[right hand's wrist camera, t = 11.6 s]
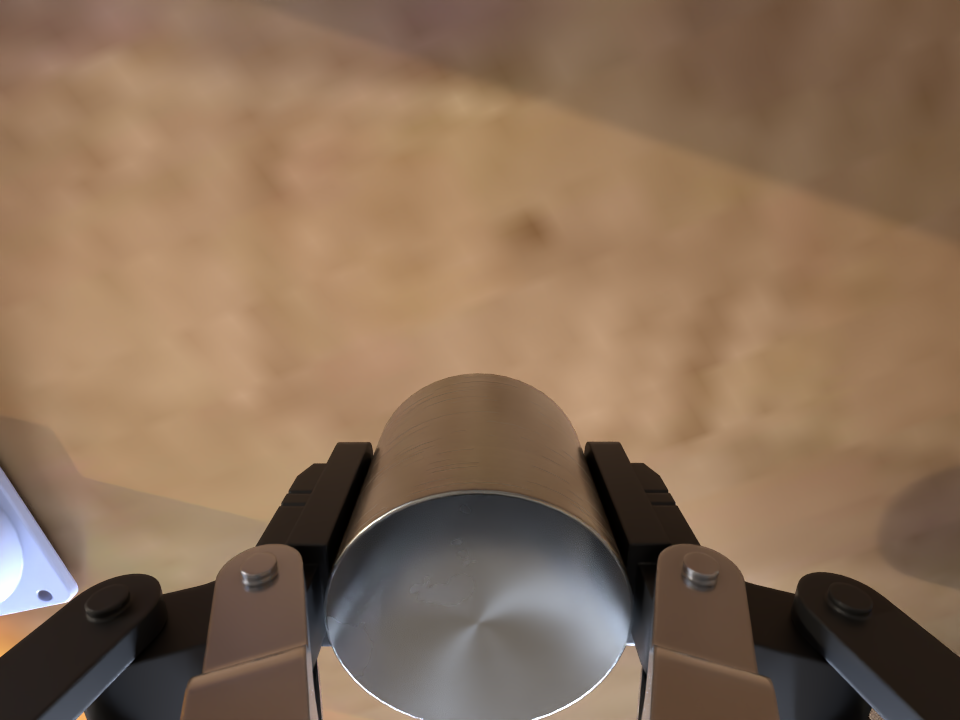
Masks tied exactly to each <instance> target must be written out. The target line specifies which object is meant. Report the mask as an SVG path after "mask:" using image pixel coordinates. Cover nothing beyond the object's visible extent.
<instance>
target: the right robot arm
mask: <svg viewBox="0 0 960 720" xmlns="http://www.w3.org/2000/svg"><path fill="white" fill-rule="evenodd" d="M584 456H585V459H586V461H587V464H588V467H589V470H590V472H591V475H592V478H593V481H594V483H595V486H596V489H597V492H598V494H599V497H600V500H601V503H602V505H603V508H604V511H605V514H606V516H607V519H608V522H609V525H610V527H611V530H612V533H613V536H614V538H615V541H616V544H617V547H618V549H619V552H620V555H621V557H622V560H623V563H624V566H625V568H626V571H627V574H628V577H629V580H630V584H631V587H632V594H633V601H634V605H633V621H632V626H631V631H630V636H629V638H628V641H627V644H626V645H635V646H636V649H637V652H638V655H639V659H640V662H641V665H642V669H641V676H640V687H639V698H638V710H637V720H871V719H870V718H869V717H868V716H869V714H870V711H871V708H873V709H874V710H875V711H876V712H877V713H878V714H879V715H880V716H881V717H882V718H883V719H884V720H960V657H959V656H957V655H956V654H955V653H954V652H952V651H951V650H950V649H949V648H947V647H946V646H945V645H944V644H942V643H941V642H940V641H939V640H937V639H936V638H935V637H934V636H932V635H931V634H930V633H928V632H927V631H926V630H925V629H923V628H922V627H921V626H920V625H918V624H917V623H916V622H915V621H913V620H912V619H911V618H910V617H908V616H907V615H906V614H905V613H903V612H902V611H901V610H900V609H898V608H897V607H896V606H895V605H893V604H892V603H891V602H890V601H888V600H887V599H886V598H885V597H883V596H882V595H881V594H879V593H878V592H877V591H875V590H873V589H872V588H870V587H868V586H867V585H865V584H863V583H861V582H859V581H856V580H854V579H851V578H849V577H845V576H842V575H838V574H834V573H827V572H816V573H810V574H807V575H805V576H803V577H802V578H801V579H800V580H799V583H798V585H797V589H796V593H795V594H793V593H789V592H785V591H780V590H776V589H772V588H767V587H763V586H759V585H755V584H751V583H748V582H745V581H744V577H743V575H742V573H741V571H740V570H739V569H738V567H737V566H736V565H735V564H734V563H733V562H732V561H731V560H729V559H728V558H727V557H725V556H724V555H722V554H720V553H718V552H716V551H714V550H712V549H709V548H707V547H703V546H701V545H700V544H699V542H698V540H697V539H696V537H695V535H694V533H693V532H692V530H691V528H690V527H689V525H688V523H687V522H686V520H685V518H684V516H683V515H682V513H681V511H680V510H679V508H678V506H676V505H675V501H674V499H673V498H672V496H671V494H670V493H668V489H667V487H666V486H665V484H664V482H663V480H662V479H661V477H660V476H659V475H658V474H657V473H656V472H654V471H653V470H652V469H650V468H649V467H648V466H646V465H645V464H644V463H630V461H629V459H628V457H627V455H626V453H625V451H624V449H623V447H622V446H621V444H620V443H619V442H587V443H586V446H585V451H584ZM372 458H373V449H372V445H371V443H370V442H339V443H337V445H336V446H335V448H334V450H333V452H332V454H331V456H330V458H329V460H328V462H327V464H313V465H311V466H310V467H309V468H307V469H306V470H305V471H303V472H302V473H301V474H300V475H298V476H297V478H296V479H295V481H294V483H293V484H292V486H291V488H290V489H289V493H288V494H286V496H285V498H284V500H283V501H282V503H281V506H279V508H278V510H277V511H276V513H275V515H274V516H273V518H272V520H271V521H270V523H269V525H268V526H267V528H266V530H265V532H264V533H263V535H262V537H261V538H260V540H259V542H258V543H257V545H256V547H253V548H251V549H248V550H246V551H244V552H242V553H240V554H238V555H236V556H235V557H233V558H232V559H231V560H229V561H228V562H227V563H226V564H225V565H224V566H223V567H222V569H221V570H220V571H219V573H218V575H217V577H216V581H213V582H210V583H208V584H204V585H201V586H197V587H193V588H188V589H184V590H180V591H175V592H171V593H167V594H162V590H161V586H160V584H159V582H158V581H157V580H156V579H155V578H154V577H152V576H149V575H145V574H128V575H122V576H118V577H114V578H111V579H108V580H106V581H103V582H101V583H99V584H97V585H95V586H93V587H91V588H89V589H87V590H86V591H84V592H82V593H81V594H80V595H78V596H77V597H75V598H74V599H73V600H72V601H70V602H69V603H68V604H67V605H65V606H64V607H63V608H62V609H60V610H59V611H58V612H57V613H55V614H54V615H53V616H52V617H50V618H49V619H48V620H47V621H45V622H44V623H43V624H42V625H40V626H39V627H38V628H37V629H35V630H34V631H33V632H31V633H30V634H29V635H28V636H26V637H25V638H24V639H23V640H21V641H20V642H19V643H18V644H16V645H15V646H14V647H13V648H11V649H10V650H9V651H8V652H6V653H5V654H4V655H3V656H1V657H0V720H76V719H77V718H78V717H79V716H80V715H81V714H82V713H83V712H84V713H85V715H86V718H87V720H323V710H322V698H321V687H320V676H319V669H318V662H317V657H318V654H319V651H320V648H321V646H331V643H330V641H329V638H328V634H327V630H326V626H325V620H324V595H325V588H326V585H327V581H328V577H329V574H330V571H331V569H332V566H333V563H334V561H335V558H336V555H337V552H338V550H339V547H340V544H341V542H342V539H343V536H344V534H345V531H346V528H347V526H348V523H349V520H350V518H351V515H352V512H353V509H354V507H355V504H356V501H357V499H358V496H359V493H360V491H361V488H362V485H363V483H364V480H365V477H366V474H367V472H368V469H369V466H370V464H371V461H372Z"/></svg>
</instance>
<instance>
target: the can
mask: <svg viewBox="0 0 960 720" xmlns="http://www.w3.org/2000/svg"><path fill="white" fill-rule="evenodd" d="M633 605H634V601H633V594H632V587H631V584H630V580H629V577H628V574H627V571H626V568H625V566H624V563H623V560H622V557H621V555H620V552H619V549H618V547H617V544H616V541H615V538H614V536H613V533H612V530H611V527H610V525H609V522H608V519H607V516H606V514H605V511H604V508H603V505H602V503H601V500H600V497H599V494H598V492H597V489H596V486H595V483H594V481H593V478H592V475H591V472H590V470H589V467H588V464H587V461H586V459H585V456H584V453H583V451H582V448H581V445H580V442H579V440H578V437H577V434H576V432H575V430H574V428H573V426H572V424H571V422H570V420H569V419H568V417H567V416H566V415H565V413H564V412H563V411H562V409H561V408H560V407H559V406H558V405H557V404H556V403H555V402H554V401H553V400H551V399H550V398H549V397H548V396H547V395H545V394H544V393H542V392H541V391H539V390H538V389H536V388H534V387H533V386H531V385H528V384H526V383H524V382H521V381H519V380H516V379H512V378H509V377H506V376H500V375H494V374H478V373H476V374H463V375H458V376H453V377H448V378H445V379H442V380H439V381H436V382H434V383H432V384H430V385H428V386H426V387H424V388H422V389H420V390H419V391H417V392H416V393H414V394H413V395H411V396H410V397H409V398H408V399H407V400H405V401H404V402H403V403H402V404H401V405H400V406H399V407H398V409H397V410H396V411H395V412H394V413H393V414H392V416H391V417H390V419H389V421H388V422H387V424H386V426H385V428H384V430H383V432H382V434H381V437H380V439H379V442H378V445H377V448H376V450H375V453H374V456H373V458H372V461H371V464H370V466H369V469H368V472H367V474H366V477H365V480H364V483H363V485H362V488H361V491H360V493H359V496H358V499H357V501H356V504H355V507H354V509H353V512H352V515H351V518H350V520H349V523H348V526H347V528H346V531H345V534H344V536H343V539H342V542H341V544H340V547H339V550H338V552H337V555H336V558H335V561H334V563H333V566H332V569H331V571H330V574H329V577H328V581H327V585H326V588H325V595H324V620H325V626H326V630H327V634H328V638H329V641H330V643H331V646H332V648H333V650H334V653H335V654H336V656H337V658H338V659H339V661H340V663H341V664H342V666H343V667H344V668H345V670H346V671H347V672H348V673H349V675H350V676H351V677H352V678H353V679H354V680H355V681H356V682H357V683H358V684H359V685H360V686H361V687H362V688H363V689H364V690H366V691H367V692H368V693H370V694H371V695H372V696H374V697H375V698H377V699H378V700H379V701H381V702H383V703H385V704H386V705H388V706H390V707H392V708H393V709H395V710H398V711H400V712H402V713H405V714H407V715H409V716H412V717H415V718H418V719H421V720H537V719H540V718H542V717H545V716H548V715H551V714H553V713H555V712H557V711H560V710H562V709H564V708H566V707H568V706H570V705H571V704H573V703H574V702H576V701H578V700H579V699H581V698H583V697H584V696H585V695H586V694H588V693H589V692H590V691H592V690H593V689H594V688H595V687H596V686H597V685H598V684H599V683H600V682H601V681H602V680H603V679H604V678H605V677H606V676H607V675H608V674H609V673H610V671H611V670H612V669H613V667H614V666H615V665H616V663H617V662H618V660H619V658H620V656H621V655H622V653H623V651H624V649H625V646H626V644H627V641H628V638H629V636H630V631H631V626H632V621H633Z"/></svg>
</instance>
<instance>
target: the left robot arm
mask: <svg viewBox="0 0 960 720" xmlns="http://www.w3.org/2000/svg"><path fill="white" fill-rule="evenodd" d="M77 592H78V586H77V583H76V581H75V580H74V578H73V577H72V575H71V574H70V572H69V571H68V569H67V568H66V566H65V565H64V563H63V562H62V560H61V558H60V557H59V555H58V554H57V552H56V551H55V549H54V548H53V546H52V545H51V543H50V542H49V540H48V539H47V537H46V536H45V534H44V533H43V531H42V529H41V528H40V526H39V525H38V523H37V522H36V520H35V519H34V517H33V516H32V514H31V513H30V511H29V510H28V508H27V507H26V505H25V503H24V502H23V500H22V499H21V497H20V496H19V494H18V493H17V491H16V490H15V488H14V487H13V485H12V484H11V482H10V481H9V479H8V478H7V476H6V474H5V473H4V471H3V470H2V468H1V467H0V616H1V615H6V614H11V613H16V612H21V611H26V610H30V609H35V608H40V607H45V606H50V605H55V604H60V603H65V602H67V601H70V600H71V598H72V597H73V596H74V595H75V594H76V593H77Z"/></svg>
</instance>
